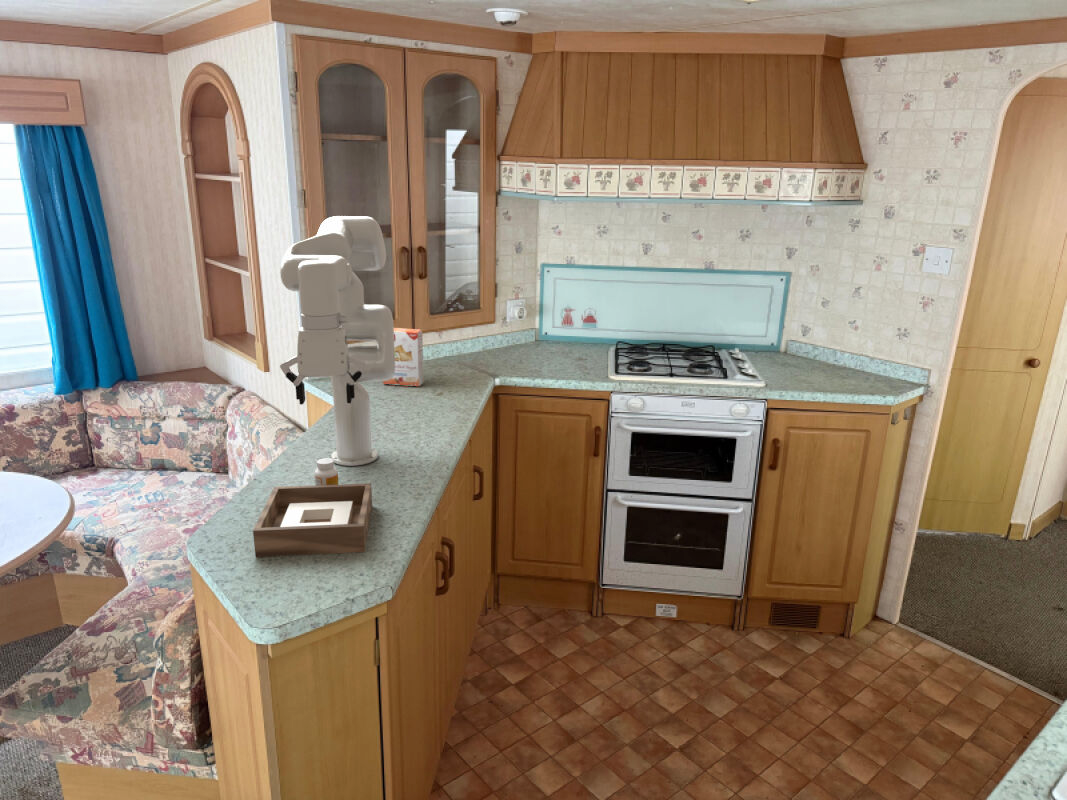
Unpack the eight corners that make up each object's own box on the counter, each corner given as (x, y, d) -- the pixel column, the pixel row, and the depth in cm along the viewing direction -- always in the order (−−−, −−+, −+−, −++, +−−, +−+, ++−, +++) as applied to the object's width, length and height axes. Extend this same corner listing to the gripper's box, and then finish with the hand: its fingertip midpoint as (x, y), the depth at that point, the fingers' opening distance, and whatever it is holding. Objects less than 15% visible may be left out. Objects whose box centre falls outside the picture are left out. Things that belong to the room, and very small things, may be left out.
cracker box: (382, 385, 275) (380, 329, 269) (388, 381, 281) (386, 326, 274) (419, 388, 273) (417, 331, 267) (424, 383, 279) (422, 328, 272)
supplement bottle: (341, 493, 184) (339, 456, 181) (336, 502, 179) (334, 465, 176) (319, 493, 184) (316, 456, 181) (313, 502, 178) (311, 464, 176)
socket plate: (290, 513, 170) (289, 503, 170) (353, 510, 172) (352, 501, 172) (279, 542, 157) (278, 531, 156) (346, 539, 159) (346, 528, 158)
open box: (276, 510, 174) (274, 486, 172) (372, 506, 177) (371, 483, 175) (255, 557, 153) (252, 530, 151) (364, 551, 156) (363, 526, 154)
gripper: (365, 318, 156) (369, 396, 161) (280, 318, 154) (286, 397, 159) (362, 325, 149) (366, 406, 154) (273, 326, 147) (280, 408, 152)
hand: (326, 402), depth 157 cm, fingers open, 9 cm apart
